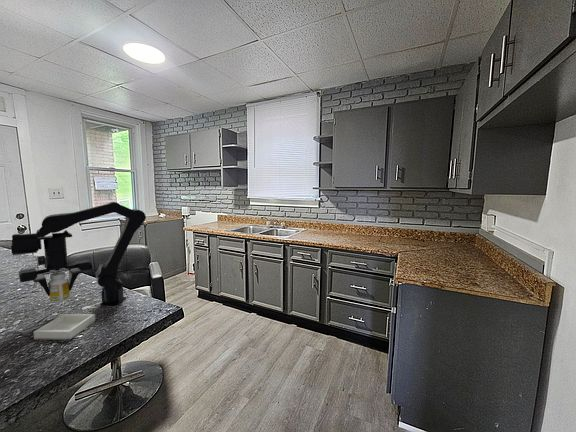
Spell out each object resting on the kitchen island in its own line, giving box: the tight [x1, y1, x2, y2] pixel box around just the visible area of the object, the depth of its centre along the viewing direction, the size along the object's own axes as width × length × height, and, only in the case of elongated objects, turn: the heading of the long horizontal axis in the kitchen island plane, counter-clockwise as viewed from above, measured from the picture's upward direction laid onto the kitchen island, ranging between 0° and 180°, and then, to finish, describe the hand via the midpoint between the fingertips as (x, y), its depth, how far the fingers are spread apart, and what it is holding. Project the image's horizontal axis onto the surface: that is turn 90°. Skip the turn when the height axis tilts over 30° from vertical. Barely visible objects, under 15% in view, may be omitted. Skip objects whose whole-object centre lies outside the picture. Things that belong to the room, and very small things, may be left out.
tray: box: [33, 313, 96, 340], centre depth 82 cm, size 11×11×2 cm
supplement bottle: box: [47, 271, 71, 304], centre depth 90 cm, size 5×5×10 cm
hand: (59, 292), depth 90 cm, fingers closed on supplement bottle, 5 cm apart
